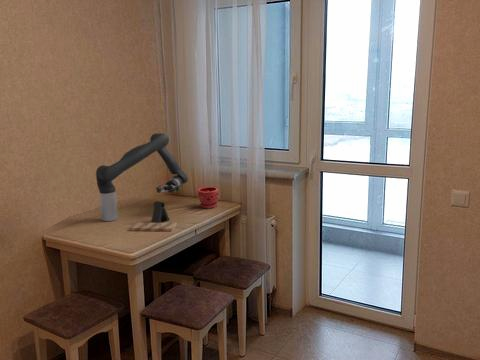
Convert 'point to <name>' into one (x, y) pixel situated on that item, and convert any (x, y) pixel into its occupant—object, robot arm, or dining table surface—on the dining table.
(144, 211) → the dining table surface
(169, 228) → the oak board
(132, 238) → the dining table surface
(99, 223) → the dining table surface
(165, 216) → the phone stand
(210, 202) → the plant pot
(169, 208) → the dining table surface
